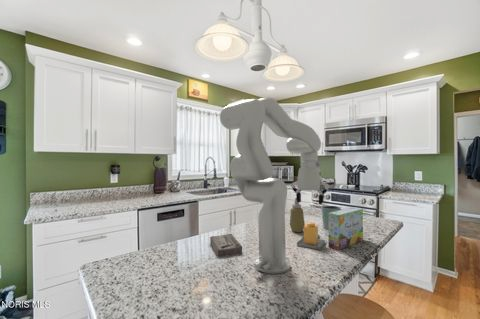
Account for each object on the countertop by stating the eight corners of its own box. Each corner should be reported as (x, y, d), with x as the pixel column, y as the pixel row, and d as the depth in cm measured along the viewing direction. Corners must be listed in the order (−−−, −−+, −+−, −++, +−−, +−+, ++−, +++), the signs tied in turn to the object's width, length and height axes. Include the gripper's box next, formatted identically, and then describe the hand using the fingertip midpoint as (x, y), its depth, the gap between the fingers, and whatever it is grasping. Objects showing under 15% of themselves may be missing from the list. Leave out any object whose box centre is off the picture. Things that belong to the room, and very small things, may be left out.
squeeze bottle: (306, 233, 120) (305, 198, 121) (291, 233, 120) (290, 199, 121) (302, 228, 128) (302, 196, 129) (288, 229, 128) (287, 196, 129)
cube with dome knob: (318, 240, 104) (317, 222, 104) (315, 244, 100) (314, 225, 100) (307, 239, 107) (306, 221, 107) (304, 242, 103) (303, 224, 103)
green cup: (322, 230, 125) (321, 208, 125) (321, 225, 134) (320, 205, 135) (342, 231, 122) (341, 209, 122) (340, 226, 131) (339, 205, 132)
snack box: (340, 250, 95) (339, 214, 96) (328, 247, 100) (327, 212, 100) (364, 240, 108) (363, 208, 108) (352, 237, 113) (351, 206, 113)
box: (231, 239, 111) (231, 233, 111) (243, 253, 95) (242, 246, 95) (209, 243, 108) (209, 236, 108) (217, 257, 91) (217, 250, 91)
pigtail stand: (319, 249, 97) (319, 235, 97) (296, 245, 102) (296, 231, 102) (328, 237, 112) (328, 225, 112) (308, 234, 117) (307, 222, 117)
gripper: (330, 165, 103) (331, 203, 102) (293, 165, 112) (293, 200, 111) (327, 165, 96) (327, 205, 96) (288, 165, 106) (288, 202, 105)
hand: (309, 203), depth 104 cm, fingers open, 9 cm apart
